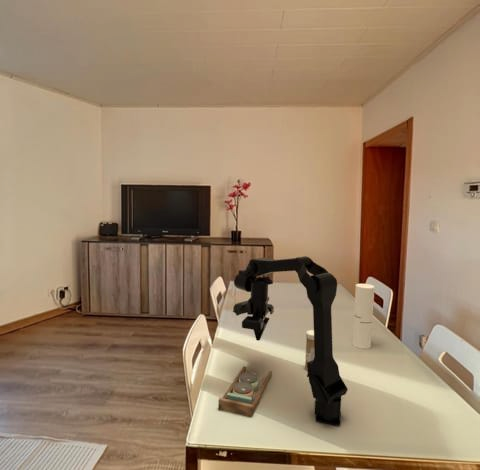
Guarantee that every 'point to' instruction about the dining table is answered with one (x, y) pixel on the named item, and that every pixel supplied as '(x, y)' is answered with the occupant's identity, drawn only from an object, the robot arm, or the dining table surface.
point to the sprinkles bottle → (309, 347)
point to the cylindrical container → (363, 316)
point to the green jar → (250, 380)
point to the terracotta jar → (243, 389)
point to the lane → (239, 406)
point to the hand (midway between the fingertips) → (258, 340)
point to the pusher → (239, 398)
